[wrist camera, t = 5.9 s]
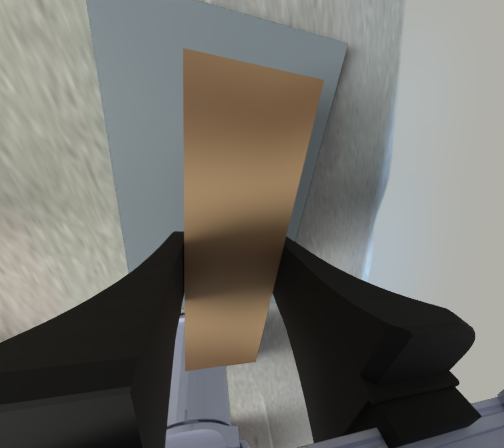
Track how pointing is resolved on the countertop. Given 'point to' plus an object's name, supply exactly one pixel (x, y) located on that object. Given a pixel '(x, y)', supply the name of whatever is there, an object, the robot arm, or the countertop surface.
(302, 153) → the wooden block
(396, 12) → the countertop surface
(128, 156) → the peg rack
